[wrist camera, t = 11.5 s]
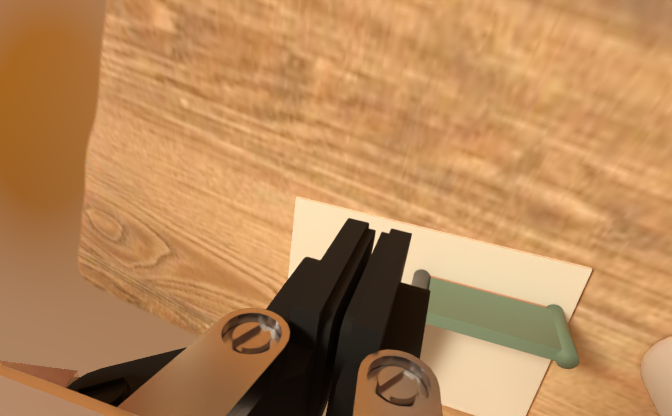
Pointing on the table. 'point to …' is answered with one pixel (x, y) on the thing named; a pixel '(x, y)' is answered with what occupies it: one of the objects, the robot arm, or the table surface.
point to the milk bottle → (659, 375)
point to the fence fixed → (499, 320)
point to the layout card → (470, 271)
